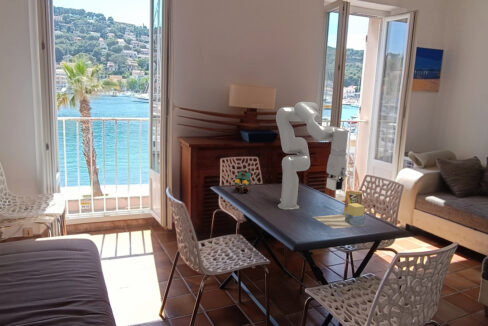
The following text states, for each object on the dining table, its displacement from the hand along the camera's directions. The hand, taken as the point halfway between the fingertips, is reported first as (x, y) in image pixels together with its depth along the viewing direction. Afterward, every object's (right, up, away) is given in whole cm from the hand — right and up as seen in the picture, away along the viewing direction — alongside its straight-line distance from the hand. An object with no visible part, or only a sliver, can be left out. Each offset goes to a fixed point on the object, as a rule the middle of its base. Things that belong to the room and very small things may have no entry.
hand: (334, 187), depth 197 cm
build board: (+4, -20, +9) cm, 22 cm away
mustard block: (+12, -15, +6) cm, 20 cm away
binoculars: (-47, -8, +65) cm, 81 cm away
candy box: (+14, -19, +21) cm, 31 cm away
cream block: (0, -1, 0) cm, 1 cm away
